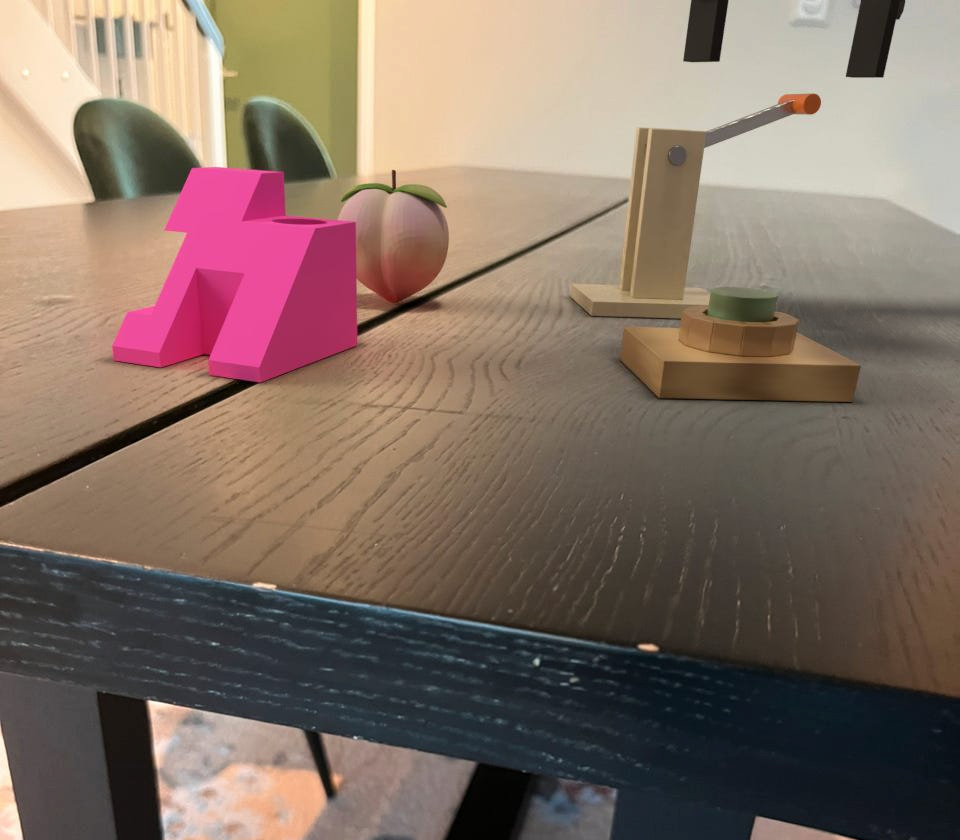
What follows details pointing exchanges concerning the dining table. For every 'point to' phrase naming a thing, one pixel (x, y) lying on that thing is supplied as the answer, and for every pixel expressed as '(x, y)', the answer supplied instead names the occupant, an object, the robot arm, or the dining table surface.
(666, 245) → the bracket
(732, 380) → the button block
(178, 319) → the bracket
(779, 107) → the lever
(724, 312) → the button
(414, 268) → the decorative fruit
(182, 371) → the dining table surface
